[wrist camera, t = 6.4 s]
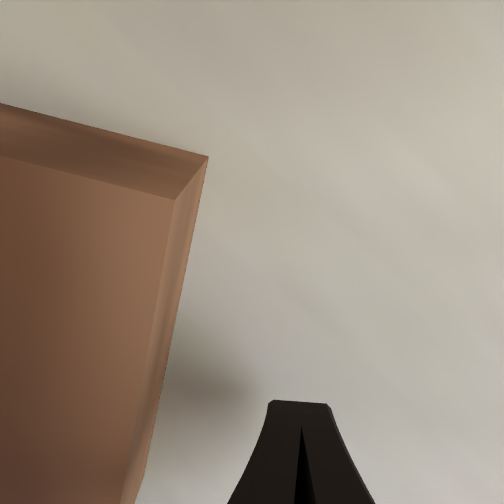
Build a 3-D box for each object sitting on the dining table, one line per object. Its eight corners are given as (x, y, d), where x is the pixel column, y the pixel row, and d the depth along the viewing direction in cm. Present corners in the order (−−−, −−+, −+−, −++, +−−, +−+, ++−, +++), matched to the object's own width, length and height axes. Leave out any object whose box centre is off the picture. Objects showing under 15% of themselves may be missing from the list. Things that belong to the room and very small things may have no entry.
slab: (-46, 422, 14) (-142, 528, 11) (-54, 85, 10) (-207, 102, 7) (146, 468, 15) (104, 587, 11) (211, 153, 11) (174, 200, 7)
